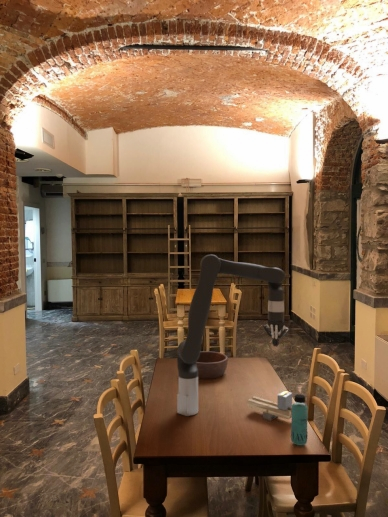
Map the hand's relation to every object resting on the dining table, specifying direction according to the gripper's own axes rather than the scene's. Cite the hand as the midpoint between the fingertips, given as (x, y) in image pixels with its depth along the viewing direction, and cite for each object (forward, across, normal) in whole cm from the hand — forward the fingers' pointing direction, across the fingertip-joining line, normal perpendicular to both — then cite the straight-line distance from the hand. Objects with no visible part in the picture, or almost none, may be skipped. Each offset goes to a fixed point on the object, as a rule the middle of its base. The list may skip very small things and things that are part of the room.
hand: (275, 346), depth 199 cm
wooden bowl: (+31, -56, +20) cm, 66 cm away
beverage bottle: (+30, +24, -26) cm, 46 cm away
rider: (+25, +10, -10) cm, 29 cm away
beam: (+30, +3, -10) cm, 32 cm away
